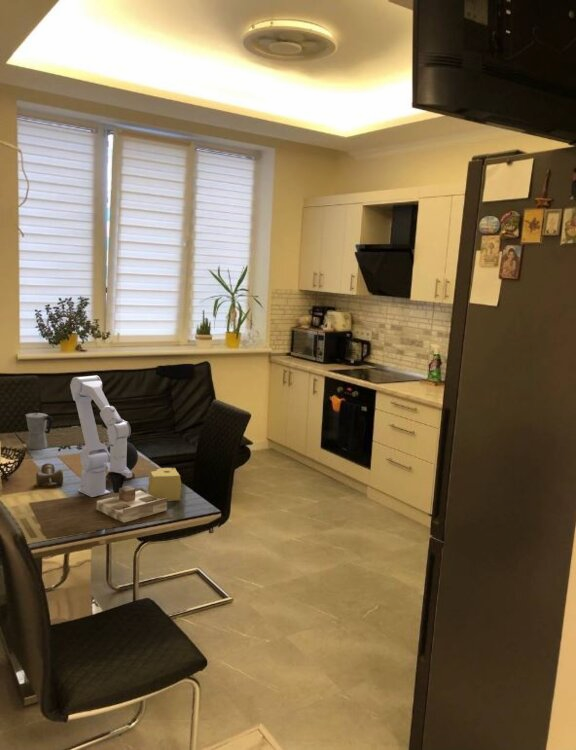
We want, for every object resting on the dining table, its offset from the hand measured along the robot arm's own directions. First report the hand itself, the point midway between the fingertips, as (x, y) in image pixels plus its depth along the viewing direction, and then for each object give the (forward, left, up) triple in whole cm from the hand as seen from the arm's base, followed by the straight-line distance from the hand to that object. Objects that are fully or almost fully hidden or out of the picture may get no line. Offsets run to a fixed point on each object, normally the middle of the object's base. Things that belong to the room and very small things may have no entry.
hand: (117, 492), depth 225 cm
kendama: (-36, -7, -4) cm, 37 cm away
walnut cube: (+6, 0, -1) cm, 6 cm away
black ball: (-24, +18, -4) cm, 30 cm away
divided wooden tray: (+9, 0, -4) cm, 10 cm away
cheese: (+6, +17, -4) cm, 18 cm away
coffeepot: (-83, +14, -4) cm, 84 cm away
